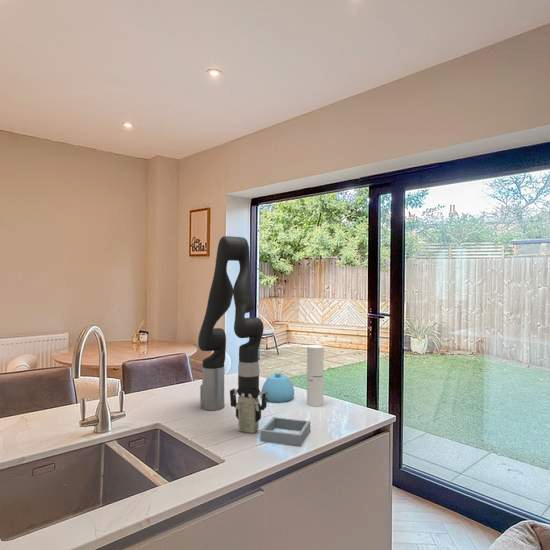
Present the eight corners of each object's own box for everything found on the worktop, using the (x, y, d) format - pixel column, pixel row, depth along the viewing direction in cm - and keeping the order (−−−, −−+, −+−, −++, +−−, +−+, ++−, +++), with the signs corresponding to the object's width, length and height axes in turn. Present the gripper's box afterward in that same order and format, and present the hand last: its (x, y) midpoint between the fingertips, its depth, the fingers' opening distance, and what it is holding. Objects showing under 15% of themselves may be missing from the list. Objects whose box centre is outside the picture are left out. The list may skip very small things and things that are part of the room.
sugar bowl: (255, 401, 183) (255, 375, 183) (269, 392, 197) (269, 367, 197) (287, 405, 177) (287, 378, 177) (298, 395, 191) (298, 370, 191)
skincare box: (259, 429, 148) (259, 395, 148) (253, 433, 144) (253, 398, 144) (243, 426, 151) (243, 393, 151) (237, 430, 147) (237, 396, 147)
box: (260, 440, 139) (260, 430, 139) (273, 426, 152) (273, 416, 152) (300, 446, 134) (300, 435, 134) (310, 430, 148) (310, 421, 148)
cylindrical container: (322, 406, 175) (322, 348, 175) (306, 405, 176) (306, 347, 176) (324, 401, 182) (324, 345, 182) (308, 400, 183) (308, 344, 183)
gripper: (225, 374, 146) (225, 421, 146) (264, 377, 142) (263, 425, 142) (234, 369, 153) (234, 414, 154) (270, 372, 149) (270, 418, 149)
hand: (248, 419), depth 148 cm, fingers closed on skincare box, 6 cm apart
